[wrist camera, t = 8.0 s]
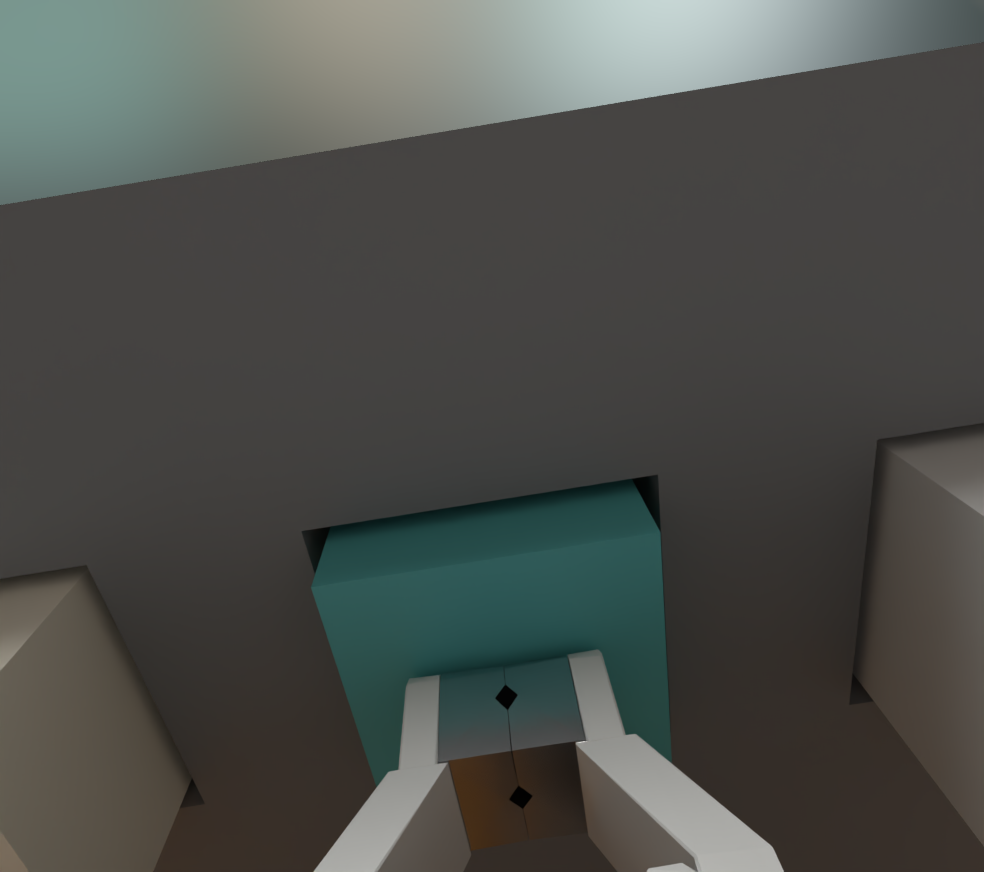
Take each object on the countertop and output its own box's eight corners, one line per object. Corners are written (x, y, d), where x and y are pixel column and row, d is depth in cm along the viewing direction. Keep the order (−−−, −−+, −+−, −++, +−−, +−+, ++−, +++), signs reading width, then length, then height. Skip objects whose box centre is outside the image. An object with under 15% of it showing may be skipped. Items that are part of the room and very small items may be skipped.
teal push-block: (386, 818, 11) (310, 586, 9) (408, 598, 17) (364, 422, 15) (672, 775, 11) (660, 532, 9) (600, 568, 17) (583, 387, 15)
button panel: (148, 1189, 19) (-621, 308, 8) (197, 1019, 22) (-286, 257, 12) (1045, 1058, 18) (1485, -41, 8) (947, 907, 22) (1155, 19, 11)
